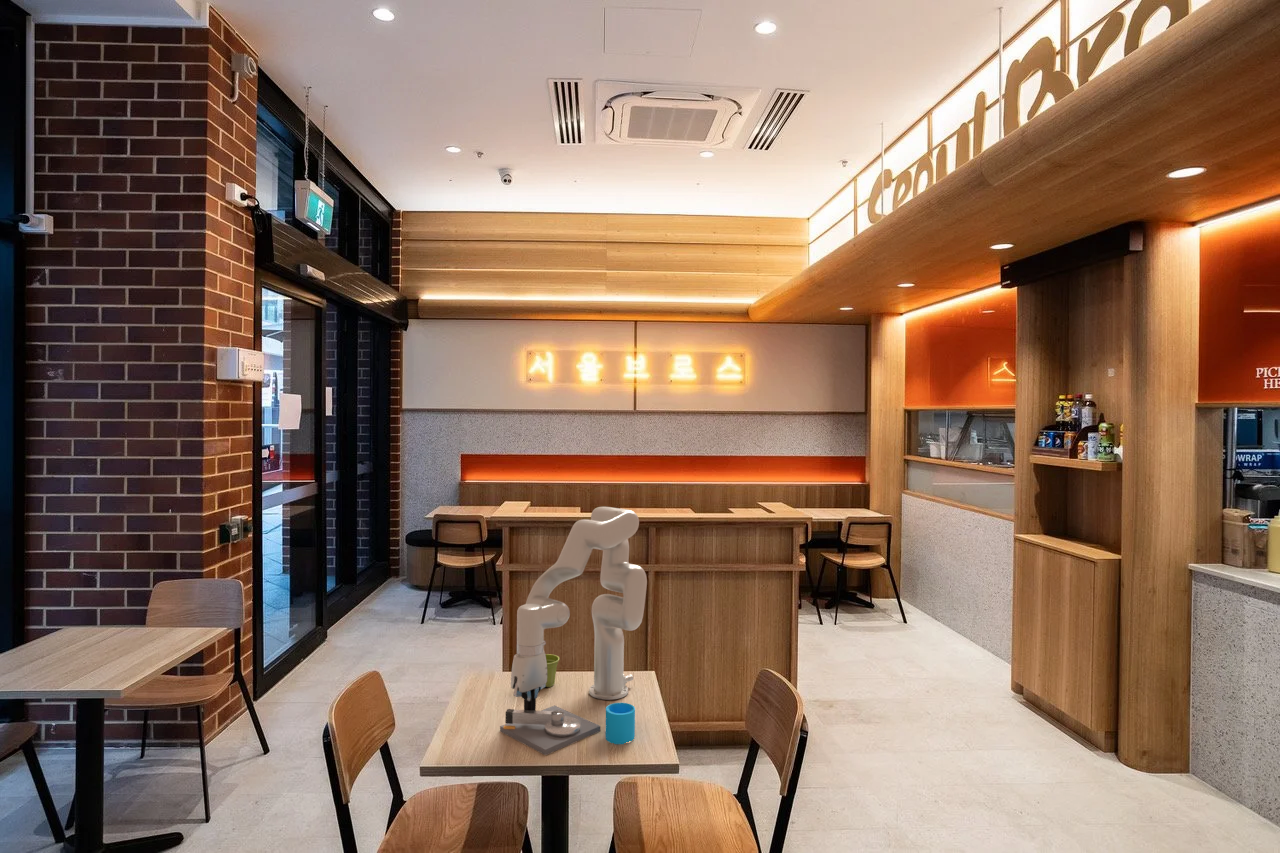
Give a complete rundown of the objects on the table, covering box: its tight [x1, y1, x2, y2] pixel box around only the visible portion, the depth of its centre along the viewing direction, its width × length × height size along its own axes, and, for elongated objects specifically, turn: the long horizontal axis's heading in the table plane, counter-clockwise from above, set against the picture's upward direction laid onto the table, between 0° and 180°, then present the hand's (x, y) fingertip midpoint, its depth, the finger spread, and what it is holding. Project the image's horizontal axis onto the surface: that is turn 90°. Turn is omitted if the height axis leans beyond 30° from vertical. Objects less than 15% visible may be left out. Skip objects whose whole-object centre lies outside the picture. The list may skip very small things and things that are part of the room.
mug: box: [604, 702, 636, 745], centre depth 198 cm, size 12×8×8 cm
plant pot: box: [544, 653, 560, 688], centre depth 234 cm, size 9×9×9 cm
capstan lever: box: [505, 708, 581, 737], centre depth 198 cm, size 10×21×5 cm, turn 86°
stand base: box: [499, 705, 601, 756], centre depth 199 cm, size 20×20×2 cm
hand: (529, 712), depth 201 cm, fingers closed
